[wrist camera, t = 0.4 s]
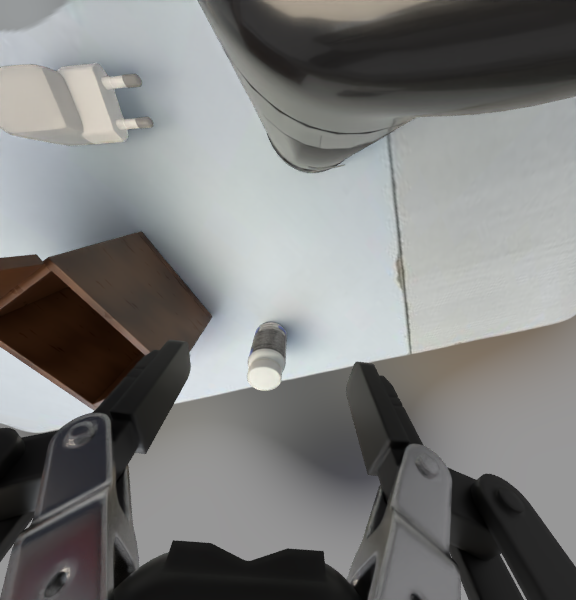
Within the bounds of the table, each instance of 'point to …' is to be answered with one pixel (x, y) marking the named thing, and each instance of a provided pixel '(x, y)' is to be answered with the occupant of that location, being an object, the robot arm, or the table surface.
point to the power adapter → (65, 104)
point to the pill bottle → (267, 357)
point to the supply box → (98, 315)
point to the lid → (16, 270)
